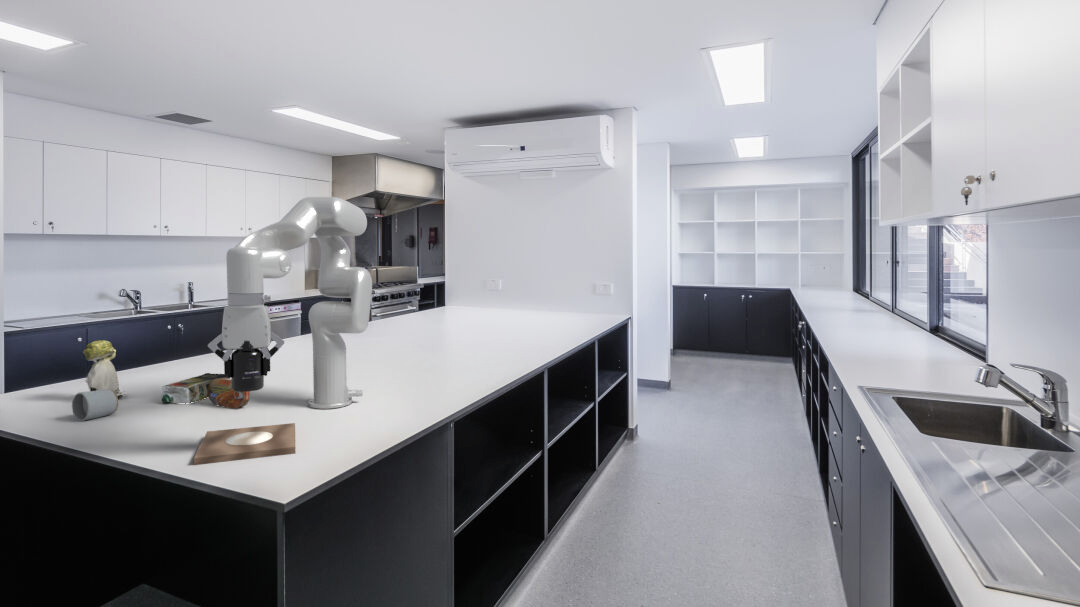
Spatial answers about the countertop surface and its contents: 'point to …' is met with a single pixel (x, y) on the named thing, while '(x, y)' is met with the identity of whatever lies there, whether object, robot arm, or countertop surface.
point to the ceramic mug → (94, 404)
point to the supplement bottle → (247, 368)
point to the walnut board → (246, 443)
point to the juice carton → (189, 389)
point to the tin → (226, 394)
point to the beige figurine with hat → (102, 367)
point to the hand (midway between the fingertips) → (247, 375)
